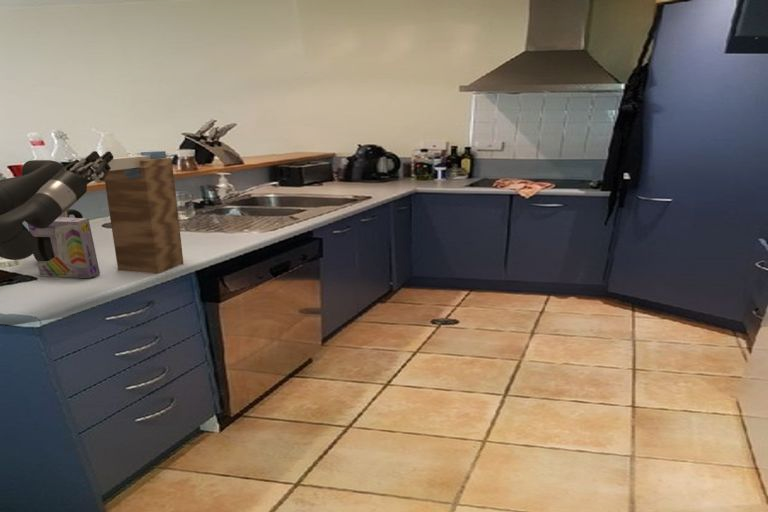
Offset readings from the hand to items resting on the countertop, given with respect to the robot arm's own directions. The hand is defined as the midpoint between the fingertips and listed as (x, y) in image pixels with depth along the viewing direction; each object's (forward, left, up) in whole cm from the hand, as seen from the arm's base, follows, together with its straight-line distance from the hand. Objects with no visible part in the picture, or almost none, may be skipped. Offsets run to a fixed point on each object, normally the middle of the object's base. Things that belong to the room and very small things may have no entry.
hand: (103, 154), depth 137 cm
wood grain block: (+9, +14, -36) cm, 40 cm away
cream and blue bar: (+8, +7, -4) cm, 11 cm away
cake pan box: (-14, +16, -37) cm, 42 cm away
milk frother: (-20, +63, -37) cm, 76 cm away
